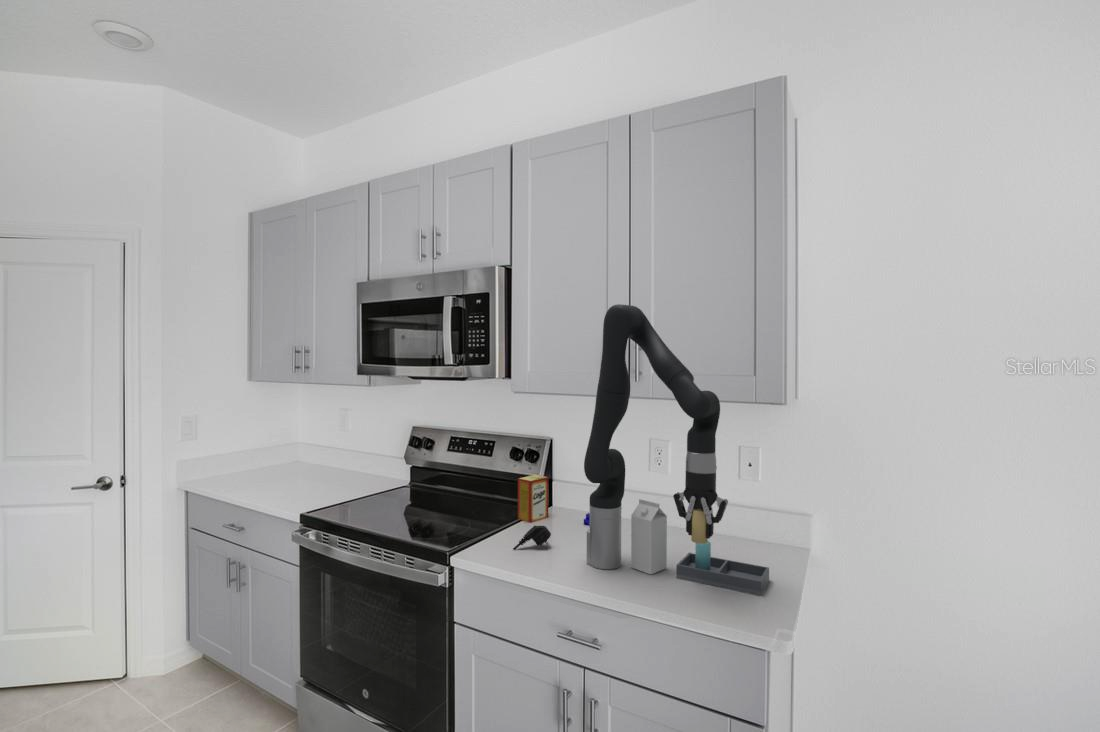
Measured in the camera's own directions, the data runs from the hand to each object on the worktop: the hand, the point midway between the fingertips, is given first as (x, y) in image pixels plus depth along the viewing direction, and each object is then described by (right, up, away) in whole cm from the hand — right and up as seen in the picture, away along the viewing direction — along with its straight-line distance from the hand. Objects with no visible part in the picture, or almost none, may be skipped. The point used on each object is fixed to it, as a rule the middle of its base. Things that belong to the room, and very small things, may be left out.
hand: (699, 535), depth 139 cm
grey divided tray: (+8, -14, +8) cm, 18 cm away
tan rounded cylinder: (0, -1, 0) cm, 1 cm away
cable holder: (-22, -14, +55) cm, 61 cm away
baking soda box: (-45, -14, +63) cm, 79 cm away
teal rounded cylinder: (+4, -13, +10) cm, 17 cm away
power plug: (-48, -16, +30) cm, 59 cm away
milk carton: (-10, -14, +15) cm, 23 cm away
